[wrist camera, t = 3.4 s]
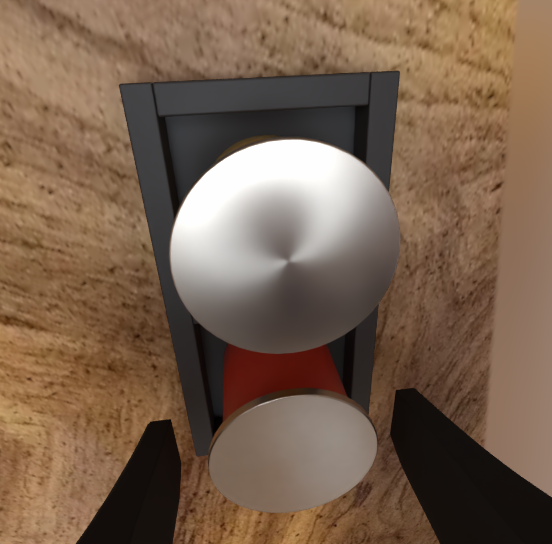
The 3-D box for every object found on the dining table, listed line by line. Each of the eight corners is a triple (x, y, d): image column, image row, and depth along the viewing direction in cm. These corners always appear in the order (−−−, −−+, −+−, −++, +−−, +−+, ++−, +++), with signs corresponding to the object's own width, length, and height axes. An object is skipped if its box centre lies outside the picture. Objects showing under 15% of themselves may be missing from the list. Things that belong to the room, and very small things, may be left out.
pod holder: (378, 73, 11) (401, 70, 10) (355, 405, 17) (367, 433, 16) (132, 84, 10) (118, 83, 9) (198, 425, 17) (196, 457, 15)
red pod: (338, 298, 14) (385, 384, 10) (335, 397, 16) (372, 500, 12) (205, 312, 14) (196, 408, 9) (220, 411, 16) (218, 523, 12)
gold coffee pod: (345, 115, 11) (414, 130, 7) (339, 265, 13) (390, 342, 9) (176, 125, 11) (146, 146, 7) (200, 278, 13) (188, 365, 9)
